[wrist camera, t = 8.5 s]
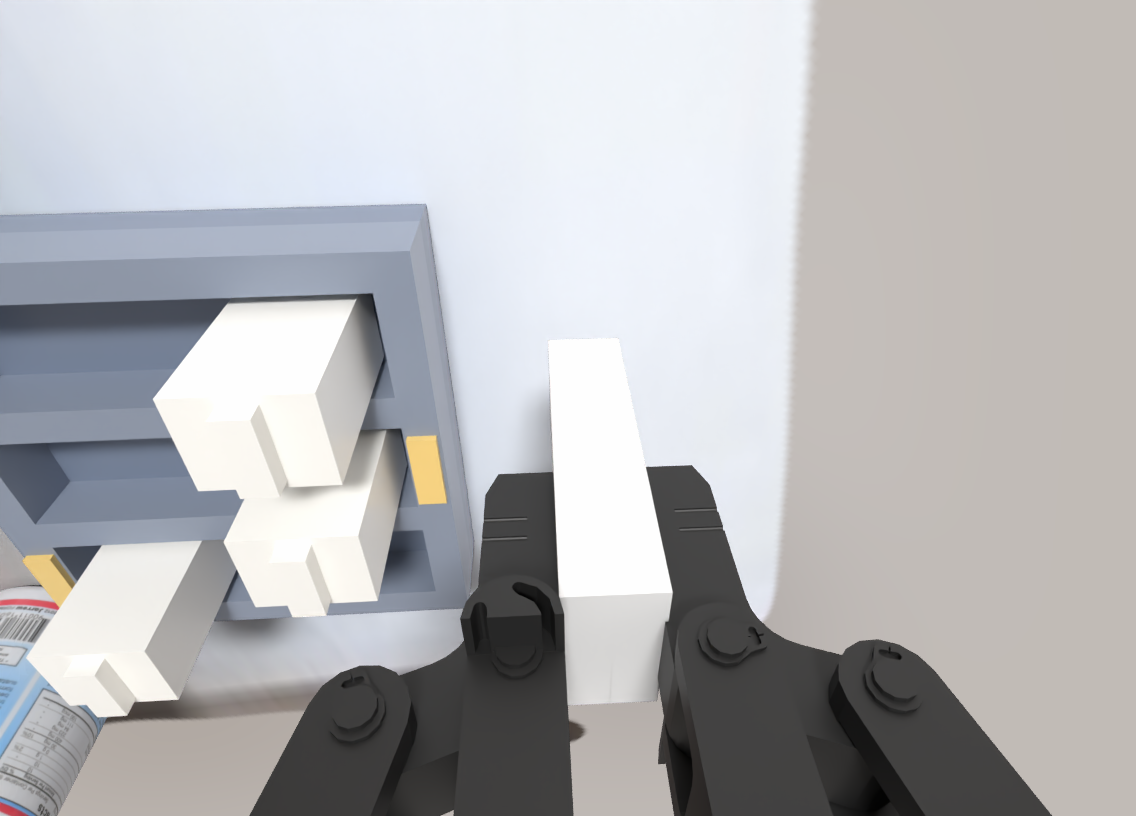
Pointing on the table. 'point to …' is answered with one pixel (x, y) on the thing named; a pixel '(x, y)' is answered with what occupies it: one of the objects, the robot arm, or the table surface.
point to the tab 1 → (134, 624)
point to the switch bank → (158, 346)
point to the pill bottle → (36, 715)
